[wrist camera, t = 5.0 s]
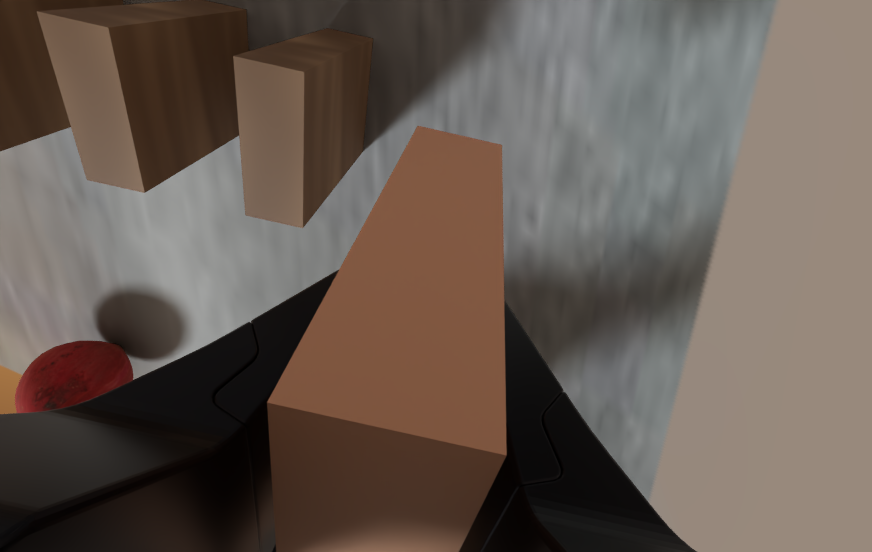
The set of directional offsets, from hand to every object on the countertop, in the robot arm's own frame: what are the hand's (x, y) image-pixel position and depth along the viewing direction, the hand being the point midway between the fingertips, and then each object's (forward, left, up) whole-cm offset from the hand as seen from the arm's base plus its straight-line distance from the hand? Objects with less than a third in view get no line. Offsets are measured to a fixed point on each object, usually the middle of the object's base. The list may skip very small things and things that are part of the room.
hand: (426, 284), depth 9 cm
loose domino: (0, 0, -2) cm, 2 cm away
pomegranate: (0, +30, -13) cm, 33 cm away
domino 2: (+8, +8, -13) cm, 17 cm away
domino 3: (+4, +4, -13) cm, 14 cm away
